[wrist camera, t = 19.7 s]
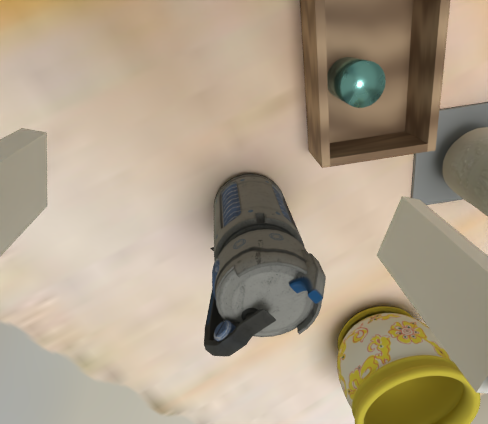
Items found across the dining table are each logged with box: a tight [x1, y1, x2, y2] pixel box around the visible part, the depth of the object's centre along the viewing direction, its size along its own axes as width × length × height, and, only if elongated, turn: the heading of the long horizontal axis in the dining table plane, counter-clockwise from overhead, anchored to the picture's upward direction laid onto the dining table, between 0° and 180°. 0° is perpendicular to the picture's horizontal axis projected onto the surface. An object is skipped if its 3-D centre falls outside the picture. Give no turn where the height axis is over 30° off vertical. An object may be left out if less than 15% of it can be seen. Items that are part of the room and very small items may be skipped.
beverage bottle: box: [204, 174, 326, 356], centre depth 44 cm, size 10×13×25 cm
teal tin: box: [327, 57, 386, 108], centre depth 44 cm, size 5×5×6 cm
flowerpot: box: [337, 306, 480, 424], centre depth 61 cm, size 18×18×16 cm
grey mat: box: [411, 102, 488, 205], centre depth 53 cm, size 14×14×1 cm
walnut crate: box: [300, 0, 450, 168], centre depth 44 cm, size 20×14×7 cm
